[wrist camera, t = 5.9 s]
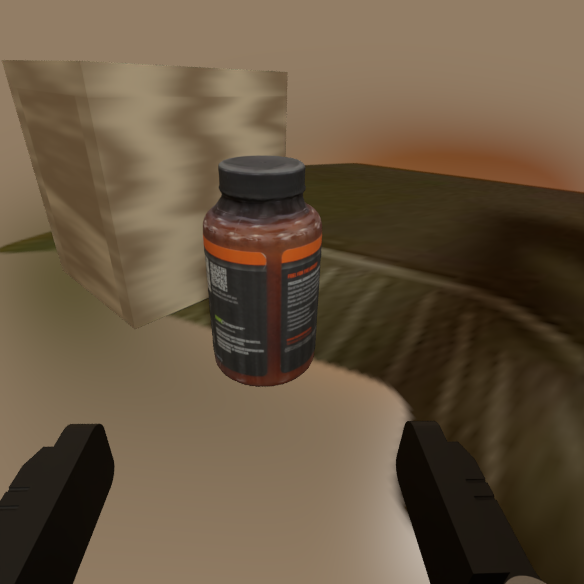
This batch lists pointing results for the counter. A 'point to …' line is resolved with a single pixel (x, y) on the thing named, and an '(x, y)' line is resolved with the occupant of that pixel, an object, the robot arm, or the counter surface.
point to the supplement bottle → (262, 270)
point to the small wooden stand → (140, 168)
